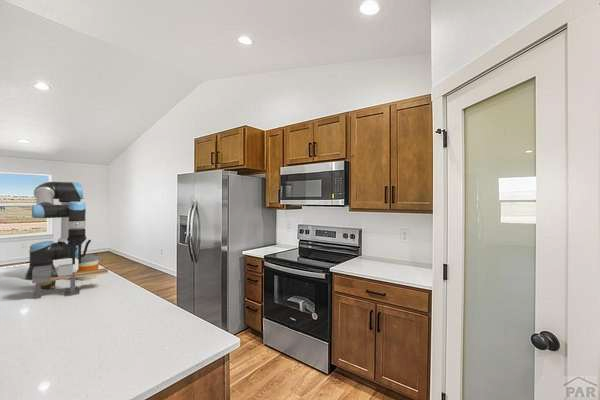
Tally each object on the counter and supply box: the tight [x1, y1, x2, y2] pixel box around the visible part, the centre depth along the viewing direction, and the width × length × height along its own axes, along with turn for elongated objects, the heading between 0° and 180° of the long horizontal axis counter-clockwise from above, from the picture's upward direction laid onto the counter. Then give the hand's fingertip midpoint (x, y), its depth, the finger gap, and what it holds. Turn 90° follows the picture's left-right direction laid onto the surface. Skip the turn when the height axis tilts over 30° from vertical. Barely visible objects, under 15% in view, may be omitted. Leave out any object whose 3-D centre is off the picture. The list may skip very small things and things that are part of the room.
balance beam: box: [31, 265, 109, 285], centre depth 152 cm, size 9×32×8 cm, turn 129°
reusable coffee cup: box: [75, 253, 100, 281], centre depth 178 cm, size 12×12×15 cm
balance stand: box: [34, 276, 81, 300], centre depth 148 cm, size 12×18×10 cm, turn 129°
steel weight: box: [57, 263, 74, 277], centre depth 150 cm, size 5×6×6 cm
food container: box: [41, 269, 58, 291], centre depth 159 cm, size 12×6×10 cm, turn 84°
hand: (76, 269), depth 153 cm, fingers closed
